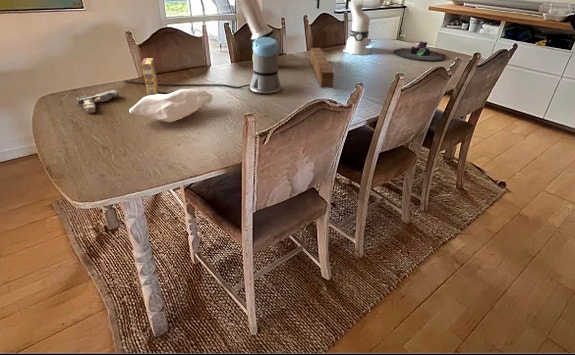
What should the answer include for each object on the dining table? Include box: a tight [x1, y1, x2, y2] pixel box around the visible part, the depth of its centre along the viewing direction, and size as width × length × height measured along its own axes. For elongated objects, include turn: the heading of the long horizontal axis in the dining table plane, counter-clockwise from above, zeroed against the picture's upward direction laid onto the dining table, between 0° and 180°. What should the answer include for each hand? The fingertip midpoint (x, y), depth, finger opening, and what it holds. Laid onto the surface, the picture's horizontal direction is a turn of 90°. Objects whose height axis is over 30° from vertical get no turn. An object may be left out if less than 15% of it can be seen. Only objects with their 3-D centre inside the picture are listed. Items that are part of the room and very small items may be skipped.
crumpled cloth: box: [129, 88, 214, 123], centre depth 147 cm, size 24×35×9 cm
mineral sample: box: [392, 40, 447, 61], centre depth 247 cm, size 35×35×9 cm
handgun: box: [76, 89, 120, 114], centre depth 155 cm, size 3×18×15 cm
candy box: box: [141, 57, 160, 96], centre depth 163 cm, size 9×4×15 cm, turn 13°
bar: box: [309, 47, 335, 89], centre depth 203 cm, size 51×6×8 cm, turn 3°
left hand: (332, 8), depth 170 cm, fingers open, 13 cm apart
